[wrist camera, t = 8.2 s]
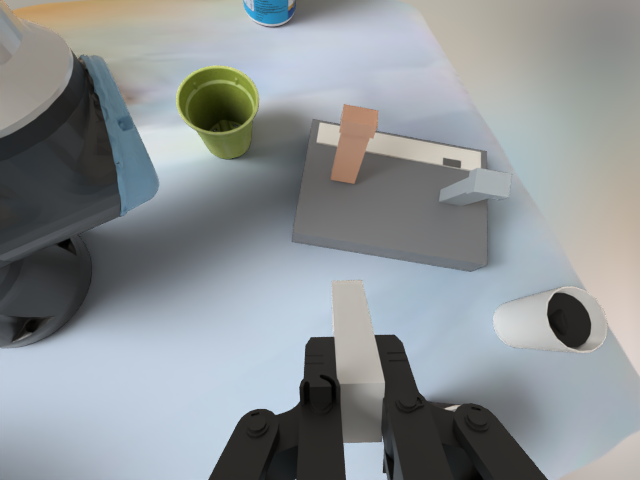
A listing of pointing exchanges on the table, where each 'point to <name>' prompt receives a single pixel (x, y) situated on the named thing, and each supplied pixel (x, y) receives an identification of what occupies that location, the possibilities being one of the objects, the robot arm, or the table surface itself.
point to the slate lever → (477, 187)
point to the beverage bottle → (270, 11)
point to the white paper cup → (553, 321)
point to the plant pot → (219, 108)
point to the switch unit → (392, 201)
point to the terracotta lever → (353, 141)
